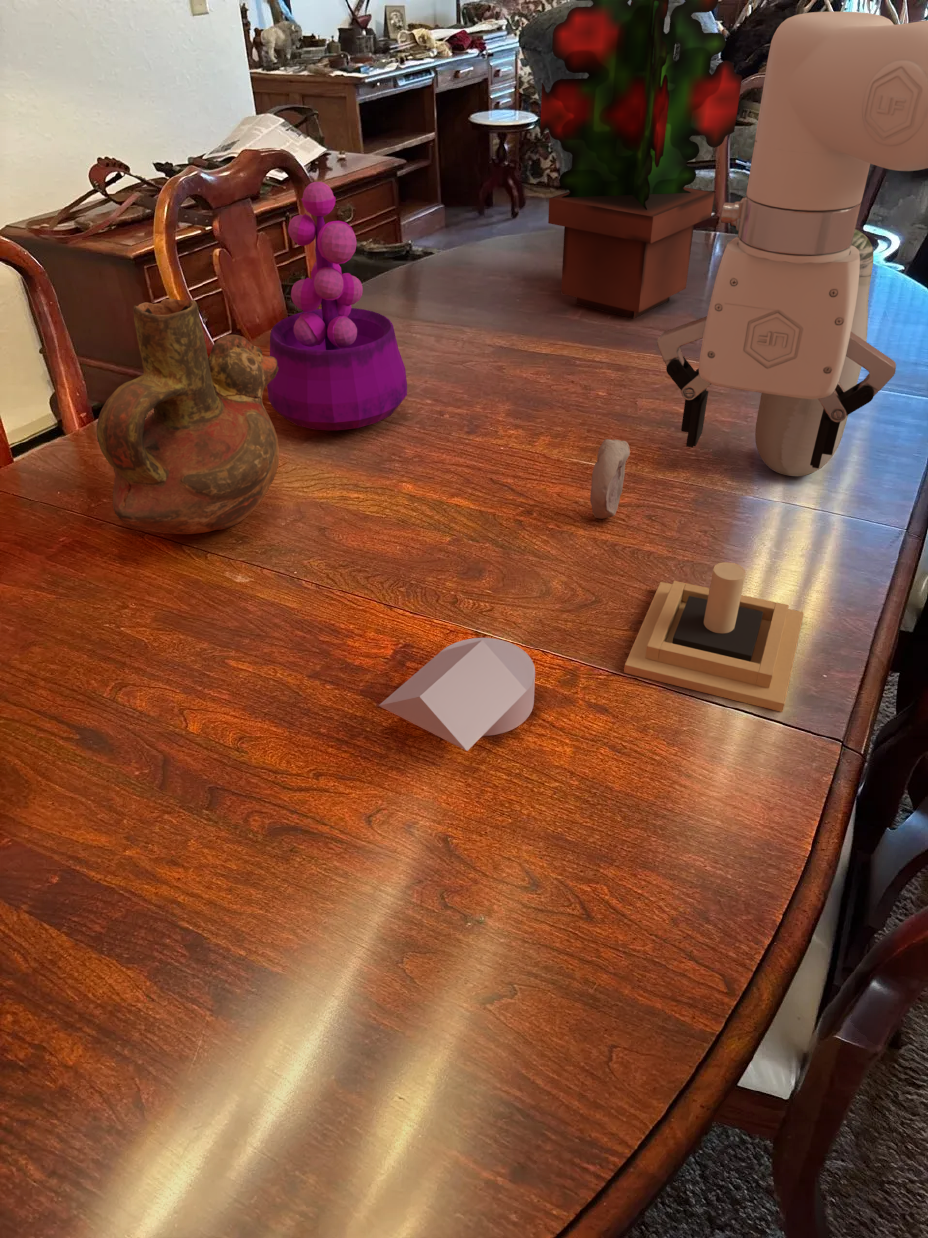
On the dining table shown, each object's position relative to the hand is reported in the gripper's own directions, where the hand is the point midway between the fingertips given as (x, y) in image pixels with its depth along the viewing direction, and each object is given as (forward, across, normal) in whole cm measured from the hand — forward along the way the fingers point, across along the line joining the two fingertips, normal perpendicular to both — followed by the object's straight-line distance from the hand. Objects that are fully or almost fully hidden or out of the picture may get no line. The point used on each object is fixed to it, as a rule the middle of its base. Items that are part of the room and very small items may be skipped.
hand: (753, 450), depth 74 cm
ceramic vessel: (+20, -58, +3) cm, 62 cm away
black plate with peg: (+19, 0, 0) cm, 19 cm away
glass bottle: (+20, +2, +38) cm, 43 cm away
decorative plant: (+20, -57, +31) cm, 68 cm away
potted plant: (+20, -33, +90) cm, 98 cm away
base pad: (+20, 0, 0) cm, 20 cm away
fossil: (+20, -16, +18) cm, 32 cm away
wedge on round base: (+20, -18, -17) cm, 32 cm away
